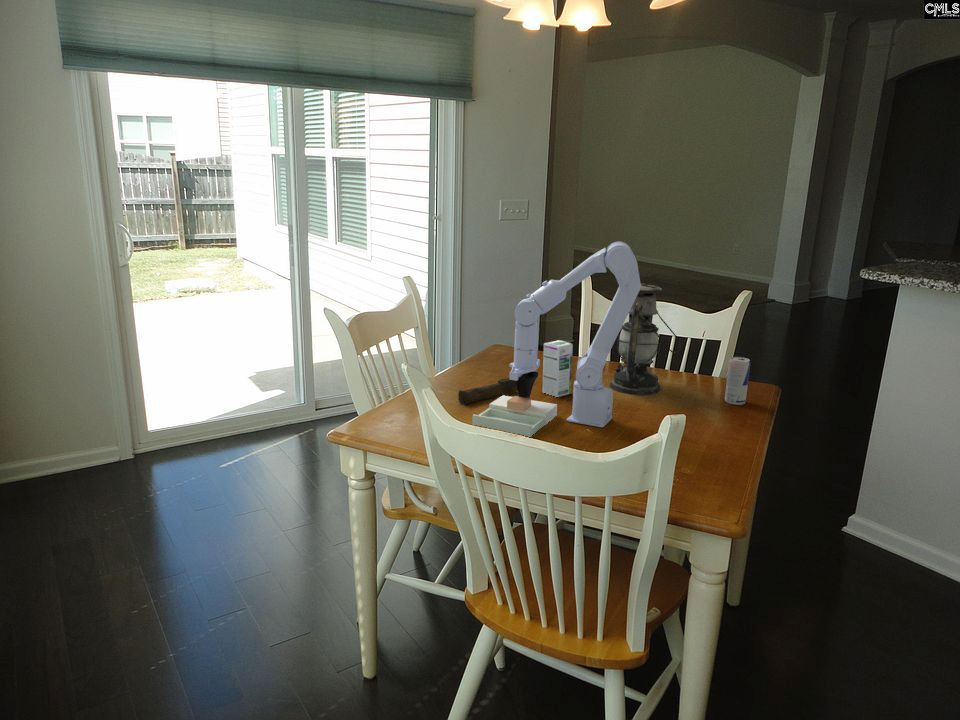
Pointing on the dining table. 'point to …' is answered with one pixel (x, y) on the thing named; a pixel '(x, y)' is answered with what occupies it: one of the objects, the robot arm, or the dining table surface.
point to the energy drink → (737, 380)
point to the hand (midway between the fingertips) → (524, 400)
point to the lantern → (639, 346)
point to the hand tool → (487, 391)
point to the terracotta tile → (519, 403)
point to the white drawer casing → (535, 410)
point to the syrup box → (557, 368)
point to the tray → (509, 422)
